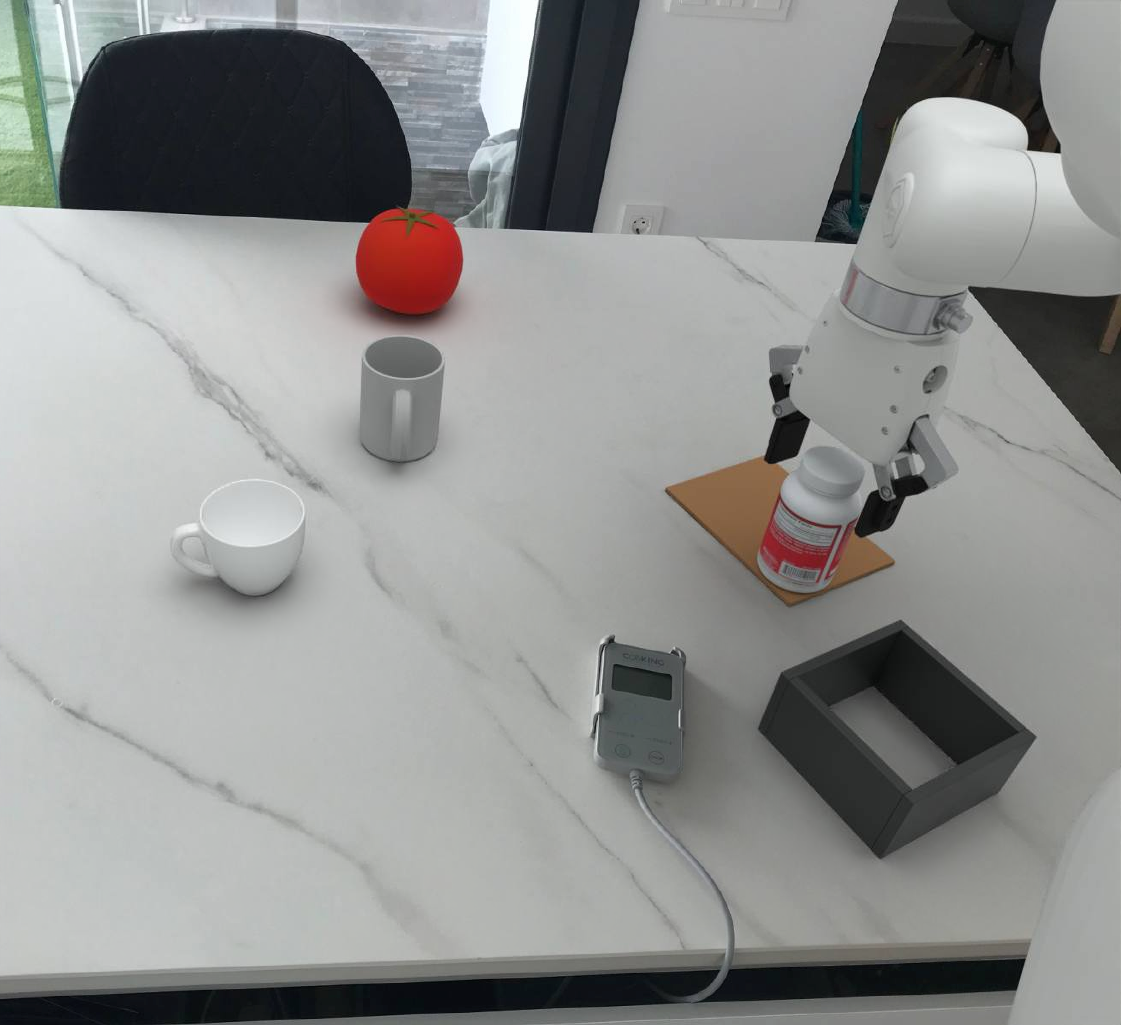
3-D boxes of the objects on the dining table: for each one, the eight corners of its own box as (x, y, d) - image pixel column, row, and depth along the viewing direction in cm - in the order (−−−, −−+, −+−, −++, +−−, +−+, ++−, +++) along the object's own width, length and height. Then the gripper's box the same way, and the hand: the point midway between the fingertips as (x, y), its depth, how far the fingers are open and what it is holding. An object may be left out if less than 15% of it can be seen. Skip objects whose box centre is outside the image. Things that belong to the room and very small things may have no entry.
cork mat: (894, 564, 91) (895, 560, 91) (789, 607, 86) (790, 603, 86) (765, 457, 101) (766, 454, 101) (664, 490, 96) (665, 487, 96)
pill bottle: (802, 539, 92) (843, 434, 85) (846, 587, 88) (893, 481, 80) (740, 552, 90) (777, 446, 83) (782, 602, 86) (824, 495, 79)
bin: (999, 791, 74) (1037, 736, 70) (880, 859, 69) (913, 804, 65) (872, 674, 81) (900, 618, 77) (757, 728, 76) (780, 671, 72)
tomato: (464, 284, 123) (473, 196, 116) (449, 339, 113) (458, 247, 106) (367, 271, 123) (370, 183, 116) (344, 324, 114) (346, 232, 107)
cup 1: (313, 605, 82) (312, 539, 78) (178, 622, 80) (170, 555, 75) (297, 539, 88) (296, 473, 83) (171, 553, 85) (164, 486, 81)
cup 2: (436, 418, 102) (443, 337, 96) (439, 485, 95) (447, 400, 89) (360, 415, 102) (363, 333, 96) (356, 481, 94) (359, 396, 88)
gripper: (1045, 346, 68) (945, 548, 79) (846, 232, 80) (781, 423, 90) (966, 370, 65) (873, 577, 76) (770, 249, 76) (713, 444, 87)
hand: (823, 493), depth 83 cm, fingers open, 9 cm apart
